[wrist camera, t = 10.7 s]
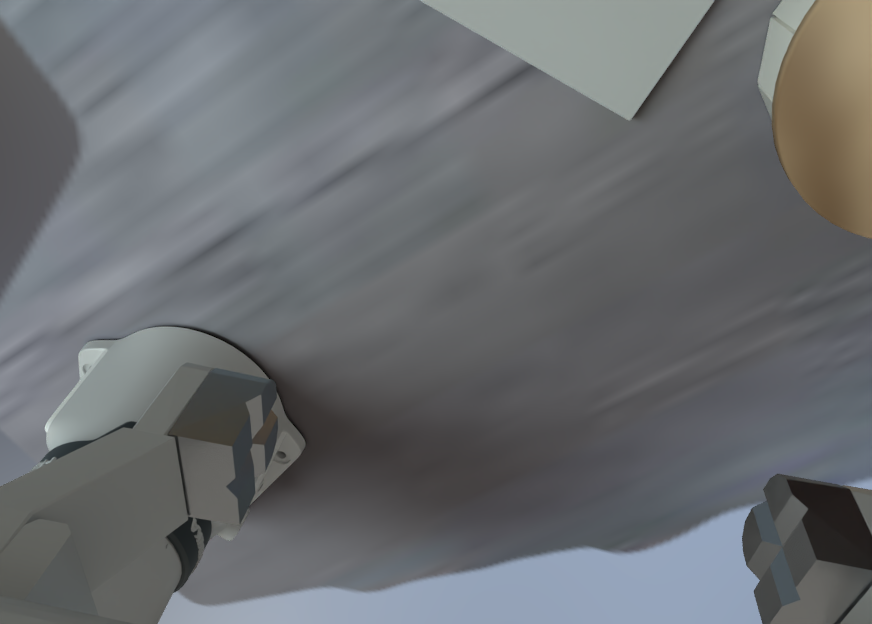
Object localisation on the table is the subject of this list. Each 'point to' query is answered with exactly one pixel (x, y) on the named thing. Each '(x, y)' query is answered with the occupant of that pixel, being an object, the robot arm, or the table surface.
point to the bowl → (779, 44)
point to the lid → (829, 112)
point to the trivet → (587, 40)
